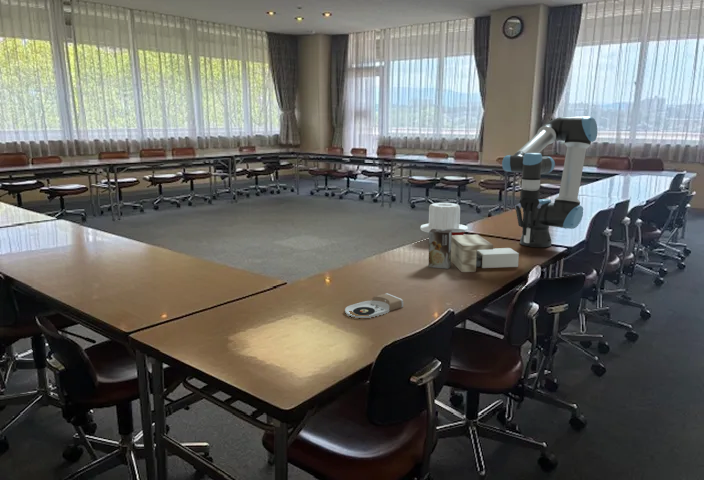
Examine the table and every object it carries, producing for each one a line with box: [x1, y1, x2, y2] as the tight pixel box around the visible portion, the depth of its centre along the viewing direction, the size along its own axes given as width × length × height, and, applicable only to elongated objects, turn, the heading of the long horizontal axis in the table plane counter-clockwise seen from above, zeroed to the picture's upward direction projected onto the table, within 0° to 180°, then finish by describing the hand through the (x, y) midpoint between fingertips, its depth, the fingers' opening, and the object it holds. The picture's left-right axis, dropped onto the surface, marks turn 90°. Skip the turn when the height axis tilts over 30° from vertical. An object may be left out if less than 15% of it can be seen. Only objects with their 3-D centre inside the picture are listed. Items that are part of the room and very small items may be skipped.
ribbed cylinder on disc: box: [419, 202, 469, 234], centre depth 271 cm, size 25×25×19 cm
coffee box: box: [428, 229, 452, 270], centre depth 221 cm, size 9×6×16 cm
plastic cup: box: [443, 229, 466, 235], centre depth 243 cm, size 11×11×12 cm
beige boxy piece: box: [451, 234, 494, 273], centre depth 223 cm, size 13×20×12 cm, turn 5°
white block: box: [476, 247, 520, 269], centre depth 224 cm, size 16×10×6 cm, turn 95°
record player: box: [344, 292, 404, 319], centre depth 172 cm, size 12×3×20 cm
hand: (526, 242), depth 224 cm, fingers closed
